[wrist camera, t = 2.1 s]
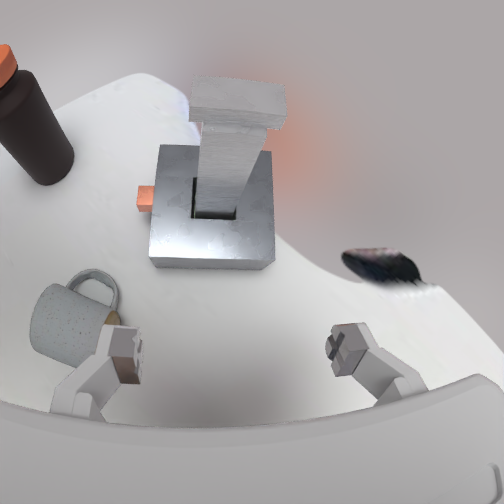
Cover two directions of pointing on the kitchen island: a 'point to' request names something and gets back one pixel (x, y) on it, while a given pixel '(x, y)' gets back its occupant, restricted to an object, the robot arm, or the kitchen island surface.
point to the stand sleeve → (207, 230)
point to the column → (230, 137)
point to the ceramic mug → (71, 320)
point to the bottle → (30, 124)
